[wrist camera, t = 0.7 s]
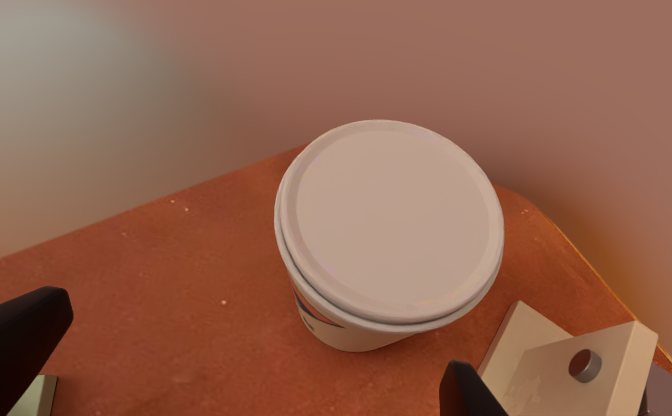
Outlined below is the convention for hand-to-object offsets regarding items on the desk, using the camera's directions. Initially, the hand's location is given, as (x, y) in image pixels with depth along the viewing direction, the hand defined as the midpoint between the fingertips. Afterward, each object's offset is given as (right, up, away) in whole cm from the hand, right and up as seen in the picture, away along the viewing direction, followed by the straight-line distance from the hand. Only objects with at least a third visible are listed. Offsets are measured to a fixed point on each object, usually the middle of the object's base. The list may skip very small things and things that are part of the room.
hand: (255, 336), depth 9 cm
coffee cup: (+3, -3, +16) cm, 17 cm away
